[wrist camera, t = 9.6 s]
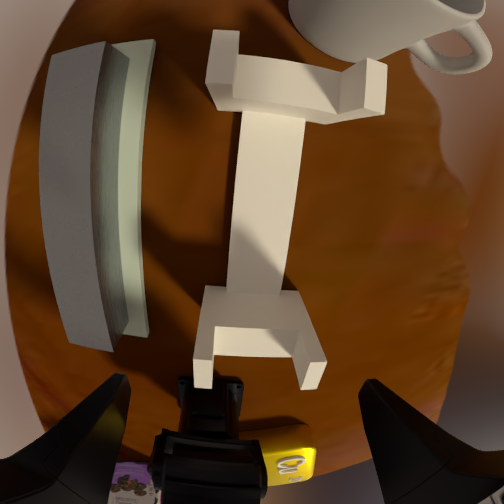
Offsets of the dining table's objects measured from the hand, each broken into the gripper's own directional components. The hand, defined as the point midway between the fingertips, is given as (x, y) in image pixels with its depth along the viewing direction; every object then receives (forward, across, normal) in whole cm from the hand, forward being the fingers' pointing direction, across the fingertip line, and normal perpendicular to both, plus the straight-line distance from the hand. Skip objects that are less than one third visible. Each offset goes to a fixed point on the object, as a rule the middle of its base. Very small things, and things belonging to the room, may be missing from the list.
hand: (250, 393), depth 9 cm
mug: (+12, -7, -19) cm, 24 cm away
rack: (+12, -1, -4) cm, 13 cm away
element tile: (+13, -5, +31) cm, 33 cm away
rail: (+11, +11, -4) cm, 16 cm away
